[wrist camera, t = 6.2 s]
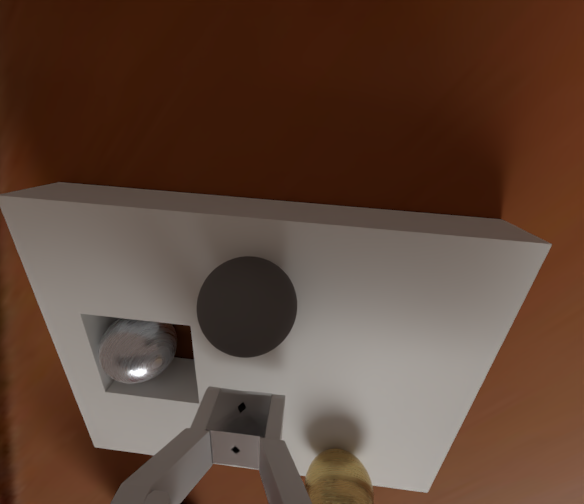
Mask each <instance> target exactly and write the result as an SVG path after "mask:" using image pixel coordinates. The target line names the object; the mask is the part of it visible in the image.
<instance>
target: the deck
mask: <svg viewBox="0 0 584 504" xmlns="http://www.w3.org/2000/svg"><path fill="white" fill-rule="evenodd" d="M0 207H1V210H2V213H3V215H4V218H5V220H6V223H7V225H8V228H9V230H10V233H11V235H12V238H13V241H14V243H15V246H16V248H17V251H18V253H19V256H20V258H21V261H22V264H23V266H24V269H25V271H26V274H27V276H28V279H29V281H30V284H31V286H32V289H33V292H34V294H35V297H36V299H37V302H38V304H39V307H40V309H41V312H42V314H43V317H44V320H45V322H46V325H47V327H48V330H49V332H50V335H51V337H52V340H53V343H54V345H55V348H56V350H57V353H58V355H59V358H60V360H61V363H62V365H63V368H64V371H65V373H66V376H67V378H68V381H69V383H70V386H71V388H72V391H73V393H74V396H75V399H76V401H77V404H78V406H79V409H80V411H81V414H82V416H83V419H84V422H85V424H86V427H87V429H88V432H89V434H90V437H91V439H92V442H93V444H94V447H96V448H104V449H111V450H118V451H125V452H133V453H140V454H147V455H155V454H156V453H157V452H159V451H160V450H161V449H162V448H163V447H164V446H166V445H167V444H168V443H169V442H170V441H171V440H172V439H174V438H175V437H176V436H177V435H178V434H179V433H181V432H182V431H183V430H184V429H185V428H190V427H191V424H192V422H193V420H194V417H195V415H196V413H197V410H198V408H199V405H200V403H201V401H202V398H203V396H204V394H205V391H206V390H207V388H208V387H209V386H211V387H219V388H226V389H233V390H240V391H252V392H262V393H272V394H277V395H285V408H284V420H283V431H282V440H284V441H285V443H286V445H287V447H288V450H289V452H290V454H291V457H292V459H293V461H294V463H295V466H296V468H297V470H298V472H299V475H301V476H306V474H307V471H308V468H309V466H310V464H311V462H312V461H313V460H314V458H315V457H316V456H317V455H318V454H320V453H321V452H323V451H325V450H328V449H332V448H339V449H343V450H346V451H348V452H350V453H352V454H353V455H354V456H356V457H357V458H358V459H359V460H360V461H361V463H362V464H363V465H364V467H365V468H366V470H367V472H368V474H369V476H370V479H371V482H372V485H374V486H382V487H389V488H396V489H403V490H411V491H418V492H425V493H428V491H429V489H430V487H431V485H432V483H433V481H434V479H435V477H436V475H437V473H438V471H439V469H440V467H441V465H442V463H443V461H444V459H445V457H446V455H447V453H448V451H449V449H450V447H451V445H452V443H453V441H454V439H455V437H456V435H457V433H458V431H459V429H460V427H461V425H462V423H463V421H464V419H465V417H466V415H467V413H468V411H469V409H470V407H471V405H472V403H473V401H474V399H475V397H476V395H477V393H478V391H479V389H480V387H481V385H482V383H483V381H484V379H485V377H486V375H487V373H488V371H489V369H490V367H491V365H492V363H493V361H494V359H495V357H496V355H497V353H498V351H499V349H500V347H501V345H502V343H503V341H504V339H505V337H506V335H507V333H508V331H509V329H510V327H511V325H512V323H513V321H514V319H515V317H516V315H517V313H518V311H519V309H520V307H521V305H522V303H523V301H524V299H525V297H526V295H527V293H528V291H529V289H530V287H531V285H532V283H533V281H534V279H535V277H536V275H537V273H538V271H539V269H540V267H541V265H542V263H543V261H544V259H545V257H546V255H547V253H548V251H549V249H550V247H551V245H552V244H551V243H549V242H547V241H545V240H543V239H541V238H539V237H537V236H535V235H532V234H530V233H528V232H526V231H524V230H522V229H520V228H518V227H516V226H514V225H512V224H510V223H508V222H506V221H504V220H502V219H493V218H481V217H469V216H457V215H445V214H433V213H422V212H410V211H398V210H386V209H374V208H362V207H350V206H338V205H327V204H315V203H303V202H291V201H279V200H267V199H255V198H243V197H231V196H220V195H208V194H196V193H184V192H172V191H160V190H148V189H136V188H125V187H113V186H101V185H89V184H77V183H65V182H57V183H52V184H47V185H43V186H38V187H33V188H28V189H23V190H19V191H14V192H9V193H4V194H0ZM244 256H253V257H260V258H263V259H266V260H269V261H271V262H272V263H274V264H276V265H277V266H279V267H280V268H281V269H282V270H283V271H284V272H285V273H286V274H287V275H288V277H289V279H290V280H291V282H292V284H293V286H294V289H295V292H296V296H297V315H296V319H295V322H294V325H293V327H292V329H291V331H290V333H289V334H288V336H287V337H286V338H285V340H284V341H283V342H282V343H281V344H280V345H278V346H277V347H276V348H275V349H273V350H271V351H269V352H268V353H266V354H263V355H260V356H256V357H250V358H241V357H235V356H231V355H228V354H225V353H223V352H221V351H220V350H218V349H217V348H215V347H214V346H213V345H212V344H211V343H210V342H209V341H208V340H207V338H206V337H205V336H204V334H203V332H202V330H201V328H200V325H199V322H198V318H197V299H198V295H199V292H200V289H201V287H202V285H203V283H204V281H205V279H206V278H207V277H208V275H209V274H210V273H211V272H212V271H213V270H214V269H215V268H217V267H218V266H219V265H221V264H222V263H224V262H226V261H228V260H231V259H234V258H237V257H244ZM119 318H124V319H133V320H142V321H152V322H161V323H170V324H179V325H188V326H190V327H191V335H192V344H193V353H194V359H185V358H177V357H173V359H172V361H171V363H170V364H169V365H168V367H167V368H166V369H165V370H164V371H163V372H162V373H160V374H159V375H158V376H156V377H154V378H153V379H151V380H148V381H145V382H142V383H137V384H127V383H121V382H118V381H116V380H114V379H112V378H111V377H109V376H108V375H107V374H106V373H105V372H104V370H103V369H102V367H101V365H100V362H99V357H98V349H99V344H100V341H101V338H102V336H103V334H104V333H105V331H106V330H107V329H108V327H109V326H110V325H111V324H112V323H113V322H115V321H116V320H117V319H119ZM213 464H216V463H213ZM221 465H226V464H221ZM228 466H235V467H242V466H236V465H228ZM243 468H248V467H243ZM250 469H254V468H250ZM257 470H259V469H257Z"/></svg>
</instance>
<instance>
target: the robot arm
mask: <svg viewBox="0 0 584 504" xmlns="http://www.w3.org/2000/svg"><path fill="white" fill-rule="evenodd" d="M284 408H285V395H277V394H272V393H262V392H252V391H240V390H233V389H226V388H219V387H211V386H209V387H208V388H207V390H206V391H205V394H204V396H203V398H202V401H201V403H200V405H199V408H198V410H197V413H196V415H195V417H194V420H193V422H192V424H191V427H190V428H185V429H184V430H183V431H182V432H181V433H179V434H178V435H177V436H176V437H175V438H174V439H172V440H171V441H170V442H169V443H168V444H167V445H166V446H164V447H163V448H162V449H161V450H160V451H159V452H157V453H156V454H155V455H154V456H153V457H152V458H151V459H149V460H148V461H147V462H146V463H145V464H144V465H142V466H141V467H140V468H139V469H138V470H137V471H135V472H134V473H133V474H132V475H131V476H130V477H129V478H127V479H126V480H125V481H124V482H123V483H122V484H121V485H120V487H119V489H118V491H117V492H116V494H115V496H114V498H113V500H112V501H111V503H110V504H180V503H181V502H182V501H183V500H184V499H185V497H186V496H187V495H188V494H189V493H190V491H191V490H192V489H193V488H194V487H195V485H196V484H197V483H198V482H199V481H200V479H201V478H202V477H203V476H204V474H205V473H206V472H207V471H208V470H209V468H210V467H211V466H212V463H216V464H226V465H236V466H242V467H248V468H254V469H259V472H260V475H261V479H262V482H263V486H264V489H265V492H266V496H267V499H268V503H269V504H312V502H311V500H310V497H309V495H308V493H307V491H306V488H305V486H304V484H303V481H302V479H301V477H300V475H299V472H298V470H297V468H296V466H295V463H294V461H293V459H292V457H291V454H290V452H289V450H288V447H287V445H286V443H285V441H284V440H282V431H283V420H284Z"/></svg>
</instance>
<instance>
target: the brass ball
mask: <svg viewBox="0 0 584 504" xmlns="http://www.w3.org/2000/svg"><path fill="white" fill-rule="evenodd" d="M305 488H306V491H307V493H308V495H309V497H310V500H311V502H312V504H374V494H373V487H372V482H371V479H370V476H369V474H368V472H367V470H366V468H365V467H364V465H363V464H362V463H361V461H360V460H359V459H358V458H357V457H356V456H354V455H353V454H352V453H350V452H348V451H346V450H343V449H339V448H332V449H328V450H325V451H323V452H321V453H320V454H318V455H317V456H316V457H315V458H314V460H313V461H312V462H311V464H310V466H309V468H308V471H307V474H306V478H305Z"/></svg>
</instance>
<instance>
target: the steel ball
mask: <svg viewBox="0 0 584 504" xmlns="http://www.w3.org/2000/svg"><path fill="white" fill-rule="evenodd" d="M176 349H177V335H176V331H175V329H174V327H173V325H172V324H170V323H161V322H152V321H142V320H133V319H124V318H119V319H117V320H116V321H115V322H113V323H112V324H111V325H110V326H109V327H108V329H107V330H106V331H105V333H104V334H103V336H102V338H101V341H100V344H99V349H98V357H99V362H100V365H101V367H102V369H103V370H104V372H105V373H106V374H107V375H108V376H109V377H111V378H112V379H114V380H116V381H118V382H121V383H127V384H137V383H142V382H145V381H148V380H151V379H153V378H154V377H156V376H158V375H159V374H160V373H162V372H163V371H164V370H165V369H166V368H167V367H168V365H169V364H170V363H171V361H172V359H173V357H174V355H175V352H176Z"/></svg>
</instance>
